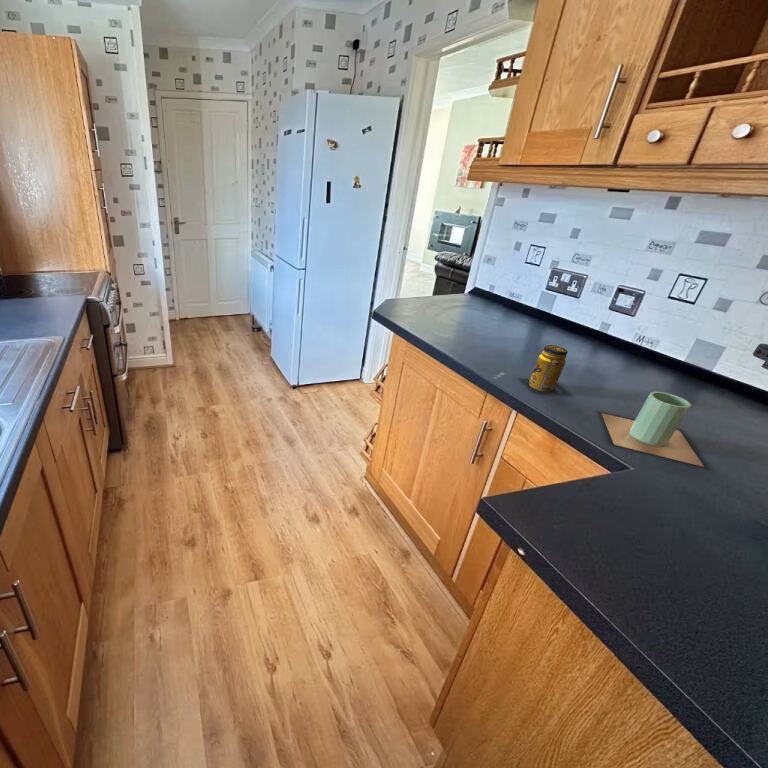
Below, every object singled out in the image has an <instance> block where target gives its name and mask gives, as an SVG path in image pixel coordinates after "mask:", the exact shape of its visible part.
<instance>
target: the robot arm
mask: <svg viewBox="0 0 768 768" xmlns="http://www.w3.org/2000/svg"><path fill="white" fill-rule="evenodd" d="M752 356H753V357H755V358H757V359H760V360H761V361H764V362H763V363H762V365H761V368H763V369H765V370H767V371H768V343H759V344H757V346H756V347H755V349H754V351H753V352H752Z"/></svg>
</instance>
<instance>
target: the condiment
mask: <svg viewBox="0 0 768 768" xmlns="http://www.w3.org/2000/svg"><path fill="white" fill-rule="evenodd" d="M567 355H568V350H567V349H566V348H564V347H563V346H559V345H556V344H555V345H554V344H547V345H545V346H544V347H543V350H542V352H541V354H539V355H538V358H537V361H536V363H535V365H534V369H533V370H532V373H531V376H530V378H529V381H528V385H529V387H530V388H532V389H533V390H536V391H539V392H544V393H551V392H553V391H554V390H555V388H556V386H557V384H558V382H559V379H560V377H561V374H562V372H563V369H564V367H565V365H566V361H567V360H566V358H567Z"/></svg>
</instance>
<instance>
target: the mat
mask: <svg viewBox="0 0 768 768" xmlns="http://www.w3.org/2000/svg"><path fill="white" fill-rule="evenodd" d="M601 416H602V418H603V421H604V423H605V425H606V428H607V431H608V433H609V435H610V438H611V441H612V443H613V445H614V446H619V447H622V448H626V449H631V450H634V451H638V452H641V453H642V452H643V453H645V454H646V453H647V454H649V455H650V454H651V455H654V456H658V457H662V458H667V459H670V460H674V461H678V462H682V463H686V464H691V465H694V466H699V467H703V468H705V466H704V464H703V463H702V461H701V460H700V458H699V457H698V456H697V454H696V453H695V451H694V449H693V447H691V445H690V443H689V442H688V441H687V439H686V438H685V436H684V435H683V433H682V432H681V431H680V430H678V429H676V430H675V432H674V434H673V435H672V437H671V438H670V440H669V442H668V443H667V445H665V446H655V445H650V444H647V443H644V442H642V441H639V440H638V439H636V438H634V437H633V436H632V435H631V434H630V433H629V431H630V429H631V427H632V425H633V423H634V421H635V420H633V419H629V418H625V417H621V416H615V415H612V414H607V413H603V412H602V413H601Z"/></svg>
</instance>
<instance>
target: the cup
mask: <svg viewBox="0 0 768 768" xmlns="http://www.w3.org/2000/svg"><path fill="white" fill-rule="evenodd" d="M691 406H692V403H690V402H689V400H687V399H685V398H683V397H681V396H678V395H676V394H672V393H669V392H664V391H651V392H650V393H649V395H648V396H647V398H646V400H645V401H644V403H643V405H642V406H641V409H640V410H639V412H638V414H637V416H636V418H635V420H634V423H633V425H632V427H631V429H630V431H629V433H630V434H631V435H632V436H633V437H634V438H636V439H638V440H639V441H642V442H644V443H647V444H650V445H655V446H665V445H667V443H668V442H669V440H670V438H671V437H672V435H673V434H674V432H675V430H678V427H679V425H680V424H681V422H682V420H683V419H684V417H685V416H686V414H687V413H688V411H689V409H690V408H691Z"/></svg>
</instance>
